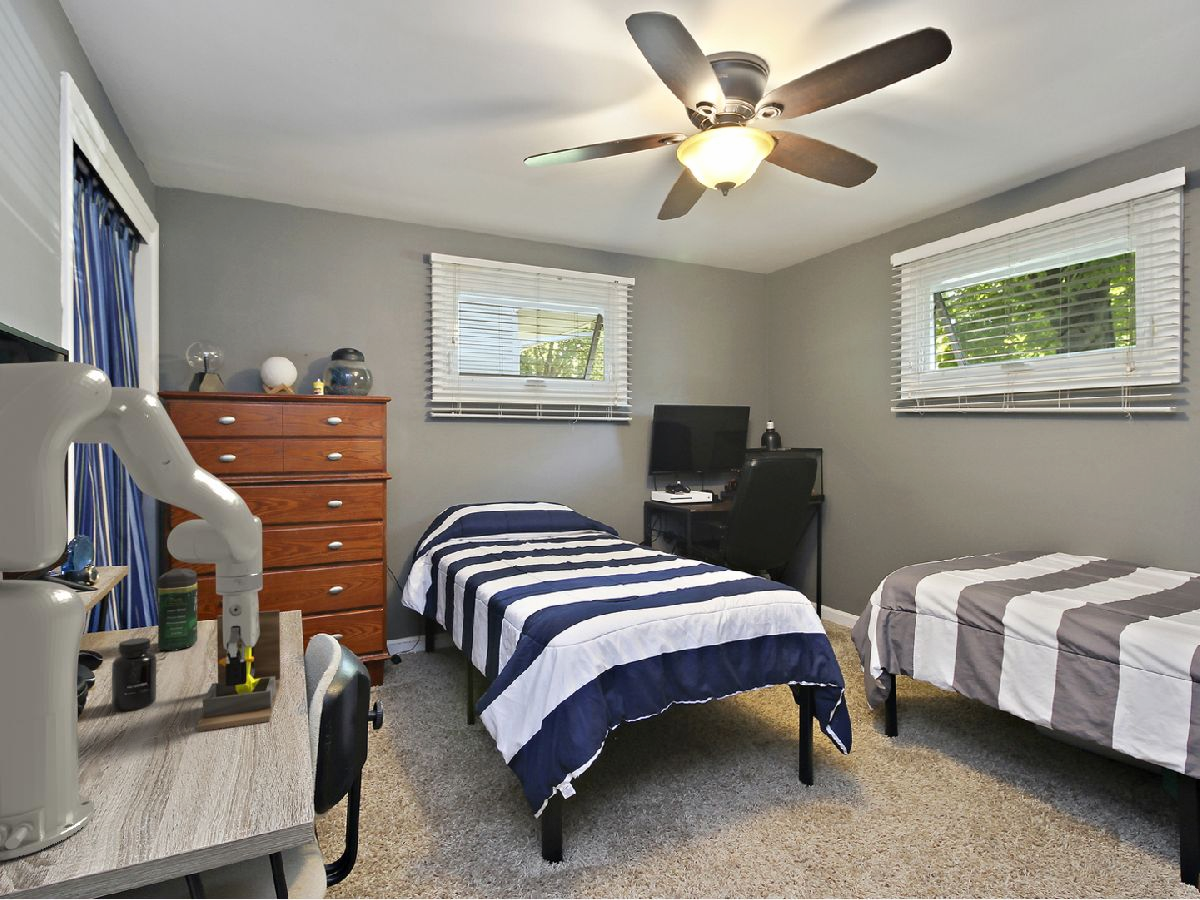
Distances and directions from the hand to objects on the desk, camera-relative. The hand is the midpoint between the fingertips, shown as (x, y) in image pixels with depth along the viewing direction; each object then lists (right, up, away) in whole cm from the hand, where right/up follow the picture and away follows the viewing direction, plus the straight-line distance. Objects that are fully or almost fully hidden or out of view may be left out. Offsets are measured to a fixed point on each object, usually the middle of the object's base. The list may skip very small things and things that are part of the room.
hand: (240, 675), depth 119 cm
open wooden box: (-1, -6, +2) cm, 7 cm away
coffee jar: (-37, -6, +38) cm, 53 cm away
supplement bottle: (-21, -7, +2) cm, 22 cm away
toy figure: (0, -5, 0) cm, 5 cm away
